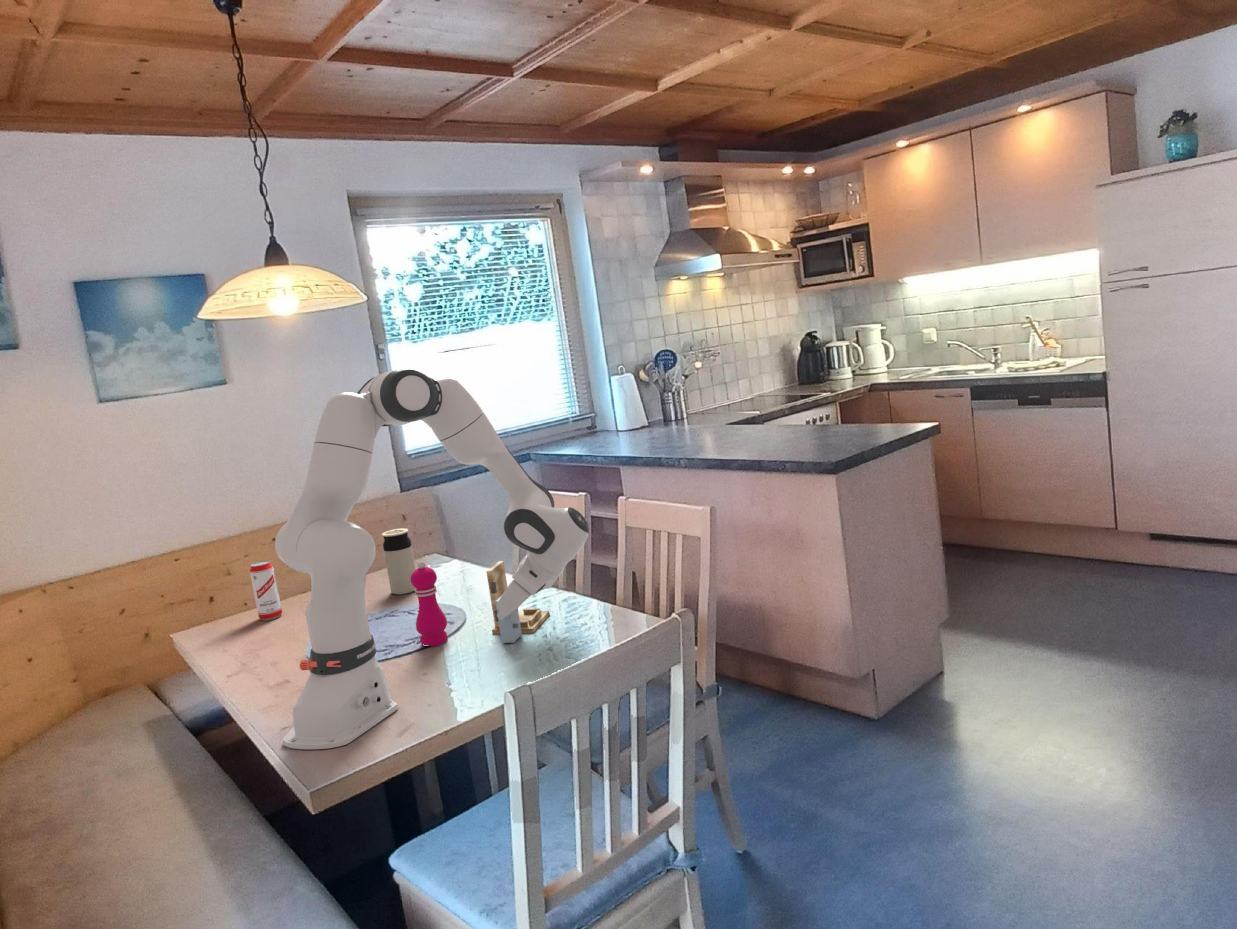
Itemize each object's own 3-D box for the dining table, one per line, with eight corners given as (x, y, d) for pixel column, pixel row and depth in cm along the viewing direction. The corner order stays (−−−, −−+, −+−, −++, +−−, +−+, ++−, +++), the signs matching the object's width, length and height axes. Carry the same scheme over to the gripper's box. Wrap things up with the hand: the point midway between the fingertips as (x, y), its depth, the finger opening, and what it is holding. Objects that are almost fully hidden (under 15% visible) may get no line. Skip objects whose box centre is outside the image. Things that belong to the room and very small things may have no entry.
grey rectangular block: (518, 642, 189) (511, 600, 188) (501, 642, 190) (495, 601, 189) (525, 634, 194) (519, 593, 193) (509, 634, 195) (503, 594, 194)
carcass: (533, 632, 195) (524, 571, 193) (492, 634, 198) (483, 573, 196) (549, 614, 207) (541, 556, 205) (510, 616, 210) (502, 558, 207)
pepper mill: (442, 647, 194) (428, 564, 190) (414, 648, 195) (399, 566, 192) (454, 635, 200) (441, 555, 197) (426, 636, 202) (413, 557, 199)
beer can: (284, 616, 234) (274, 562, 231) (261, 623, 231) (250, 567, 228) (280, 612, 239) (270, 558, 237) (257, 618, 236) (246, 564, 233)
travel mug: (414, 593, 240) (404, 533, 238) (387, 596, 241) (377, 536, 238) (422, 585, 248) (412, 526, 245) (396, 587, 249) (385, 529, 246)
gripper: (543, 547, 198) (511, 588, 202) (512, 574, 178) (477, 619, 182) (563, 565, 197) (531, 605, 201) (534, 593, 178) (499, 637, 182)
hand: (505, 612), depth 192 cm, fingers closed on grey rectangular block, 5 cm apart
